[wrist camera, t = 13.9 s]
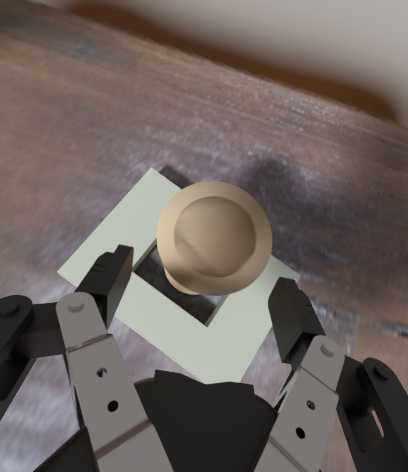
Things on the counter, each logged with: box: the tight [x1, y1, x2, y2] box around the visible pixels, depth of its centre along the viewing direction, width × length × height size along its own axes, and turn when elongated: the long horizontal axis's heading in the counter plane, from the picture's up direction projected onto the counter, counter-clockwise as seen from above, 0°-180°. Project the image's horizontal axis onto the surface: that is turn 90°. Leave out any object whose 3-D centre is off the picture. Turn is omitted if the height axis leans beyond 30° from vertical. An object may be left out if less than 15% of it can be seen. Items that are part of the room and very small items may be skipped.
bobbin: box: [156, 181, 272, 296], centre depth 17 cm, size 6×6×12 cm
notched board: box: [57, 168, 300, 384], centre depth 22 cm, size 17×12×2 cm
